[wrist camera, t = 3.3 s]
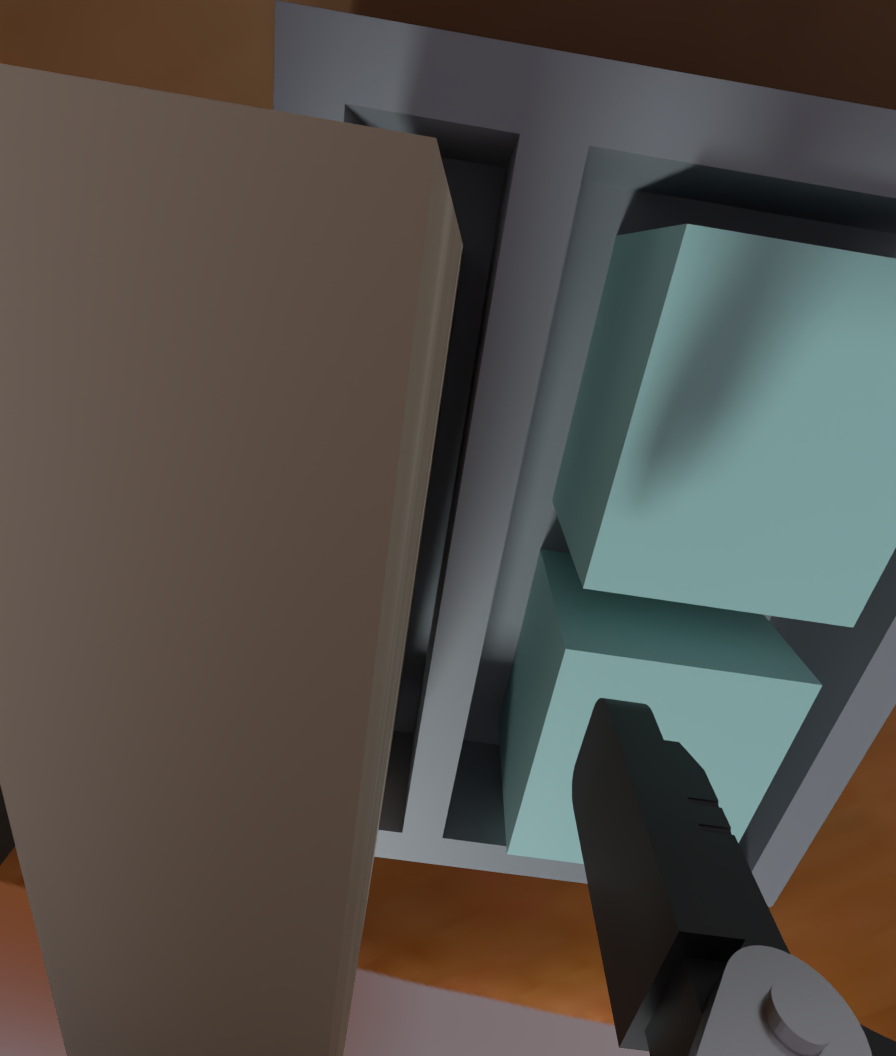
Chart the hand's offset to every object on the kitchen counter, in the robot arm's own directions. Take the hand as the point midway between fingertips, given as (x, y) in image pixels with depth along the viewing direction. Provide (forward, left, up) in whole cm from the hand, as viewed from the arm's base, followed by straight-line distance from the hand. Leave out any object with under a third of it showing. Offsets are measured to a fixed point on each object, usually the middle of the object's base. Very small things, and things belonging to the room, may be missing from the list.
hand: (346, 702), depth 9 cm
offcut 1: (+7, +4, -8) cm, 12 cm away
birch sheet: (0, 0, -8) cm, 8 cm away
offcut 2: (+7, -4, -8) cm, 12 cm away
